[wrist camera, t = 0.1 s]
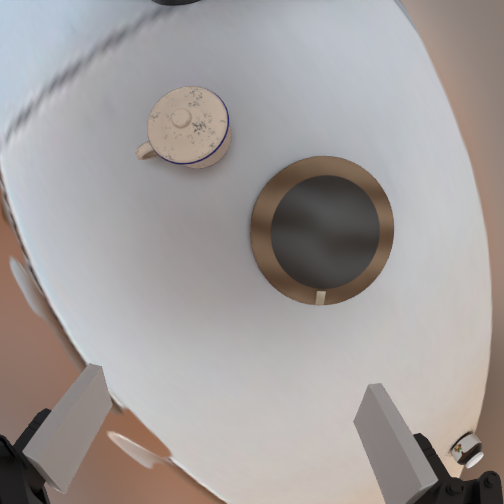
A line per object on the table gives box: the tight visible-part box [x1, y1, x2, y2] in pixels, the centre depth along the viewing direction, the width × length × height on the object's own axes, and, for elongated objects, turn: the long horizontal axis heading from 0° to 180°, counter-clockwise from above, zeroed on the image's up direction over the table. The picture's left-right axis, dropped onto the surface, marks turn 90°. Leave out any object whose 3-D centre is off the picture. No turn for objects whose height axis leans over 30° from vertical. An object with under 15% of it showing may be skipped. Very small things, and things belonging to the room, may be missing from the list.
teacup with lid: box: [136, 86, 231, 168], centre depth 30 cm, size 12×9×12 cm
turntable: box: [251, 156, 394, 305], centre depth 36 cm, size 20×20×3 cm
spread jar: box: [452, 433, 484, 468], centre depth 48 cm, size 12×11×12 cm
